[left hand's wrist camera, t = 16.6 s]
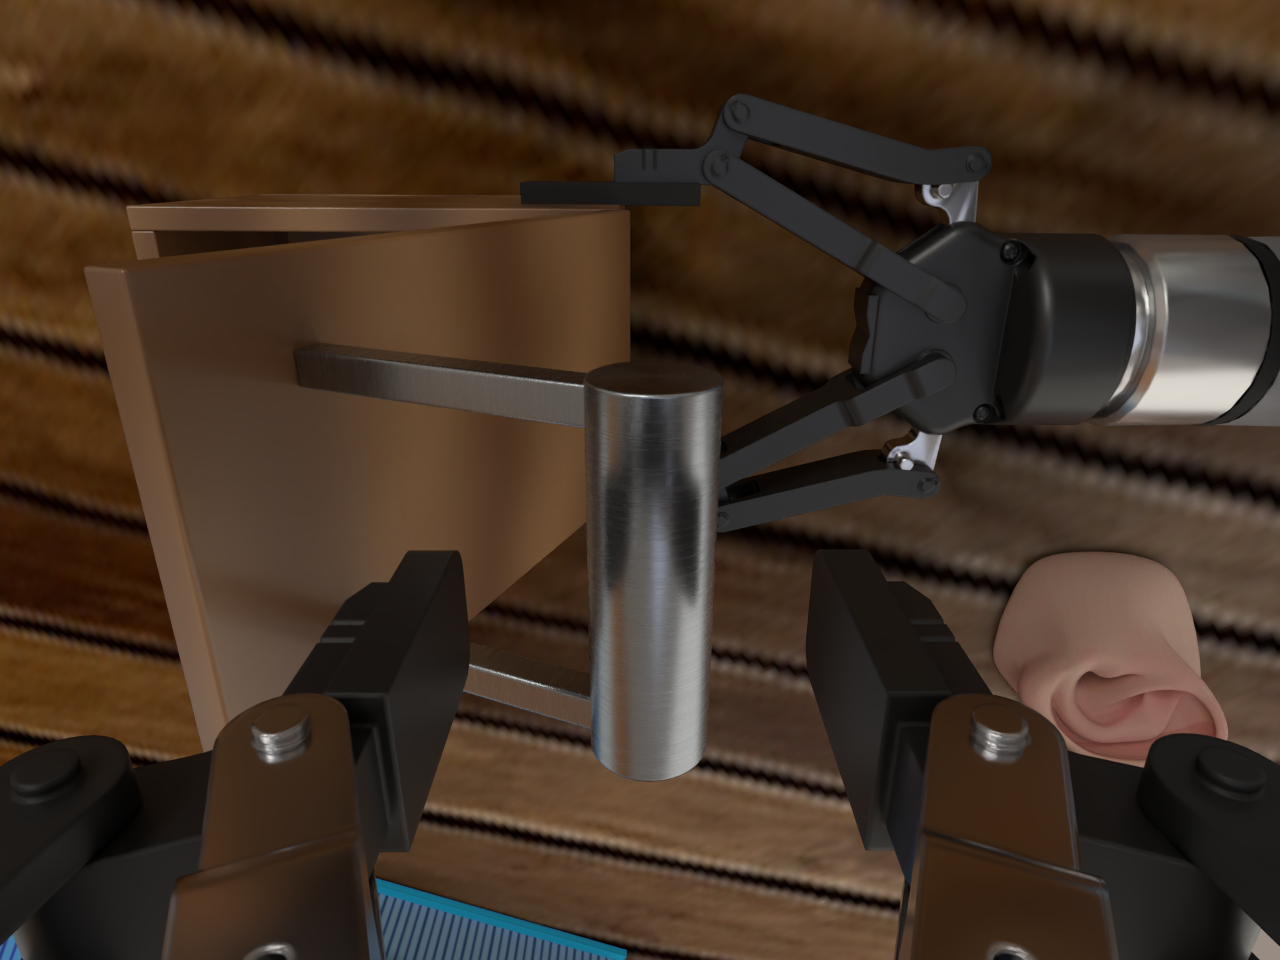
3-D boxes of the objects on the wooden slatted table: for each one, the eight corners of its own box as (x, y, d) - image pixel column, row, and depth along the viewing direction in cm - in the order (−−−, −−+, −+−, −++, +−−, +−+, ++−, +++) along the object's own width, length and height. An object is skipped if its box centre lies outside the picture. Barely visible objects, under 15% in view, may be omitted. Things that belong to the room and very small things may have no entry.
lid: (212, 795, 15) (633, 969, 12) (79, 265, 11) (635, 309, 8) (608, 481, 29) (841, 521, 26) (606, 208, 26) (875, 216, 23)
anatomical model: (1015, 605, 40) (1253, 556, 39) (983, 568, 43) (1200, 522, 42) (1032, 804, 44) (1244, 765, 43) (1002, 755, 48) (1197, 718, 47)
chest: (303, 395, 40) (184, 476, 30) (271, 193, 36) (124, 205, 26) (625, 397, 40) (620, 478, 30) (625, 195, 36) (619, 208, 26)
